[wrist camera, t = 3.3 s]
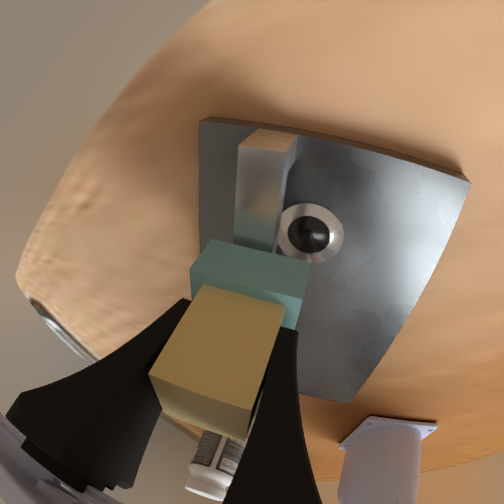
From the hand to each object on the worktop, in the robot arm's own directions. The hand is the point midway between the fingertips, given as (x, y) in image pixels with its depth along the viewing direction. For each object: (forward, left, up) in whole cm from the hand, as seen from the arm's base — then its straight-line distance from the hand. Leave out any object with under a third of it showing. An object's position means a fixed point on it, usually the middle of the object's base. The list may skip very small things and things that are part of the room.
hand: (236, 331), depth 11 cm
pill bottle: (-29, +2, -7) cm, 30 cm away
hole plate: (-4, -2, -6) cm, 8 cm away
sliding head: (0, 0, -5) cm, 5 cm away
